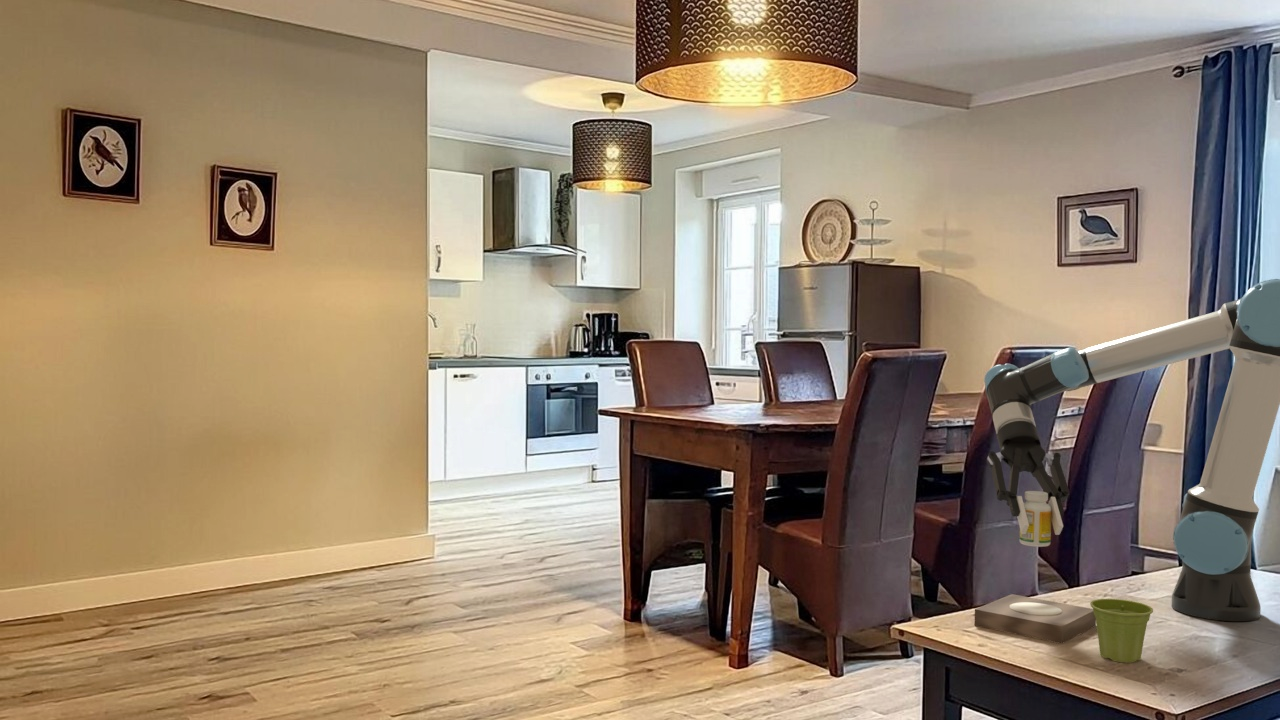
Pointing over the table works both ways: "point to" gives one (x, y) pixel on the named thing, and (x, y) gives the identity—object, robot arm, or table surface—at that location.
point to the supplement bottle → (1037, 520)
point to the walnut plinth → (1035, 618)
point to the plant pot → (1121, 628)
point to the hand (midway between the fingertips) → (1042, 529)
